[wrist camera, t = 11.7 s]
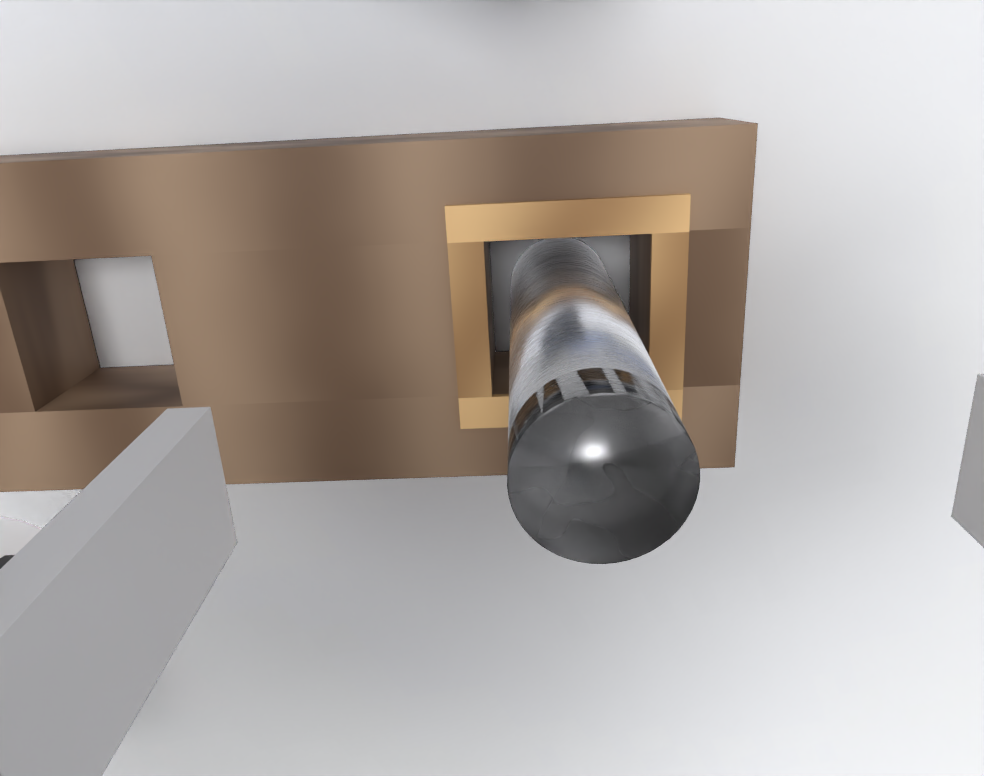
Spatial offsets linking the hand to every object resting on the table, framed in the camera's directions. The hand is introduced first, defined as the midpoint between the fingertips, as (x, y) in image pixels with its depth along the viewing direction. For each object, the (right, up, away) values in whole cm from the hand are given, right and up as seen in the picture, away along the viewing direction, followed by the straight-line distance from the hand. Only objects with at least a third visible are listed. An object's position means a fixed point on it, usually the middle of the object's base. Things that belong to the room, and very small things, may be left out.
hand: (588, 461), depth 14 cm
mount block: (-6, +5, +13) cm, 15 cm away
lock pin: (+1, +5, +12) cm, 13 cm away
